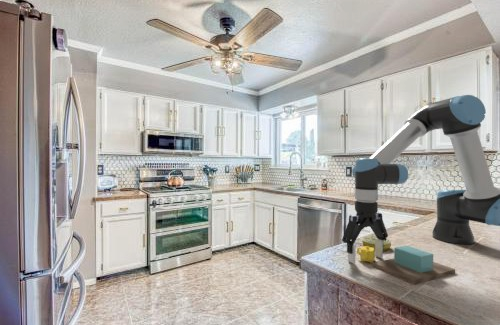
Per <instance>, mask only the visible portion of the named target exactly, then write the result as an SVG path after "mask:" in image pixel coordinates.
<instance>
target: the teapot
mask: <svg viewBox="0 0 500 325" xmlns="http://www.w3.org/2000/svg"><path fill="white" fill-rule="evenodd" d="M356 254H358V256H359V257H360V261H361V262H368V263H369V264H373V263H374V262H375V259H376V258H375V257H376V256H375V250H374V248H372V247H369V246H364V245H363V246H362V247H357V248H356Z"/></svg>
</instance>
